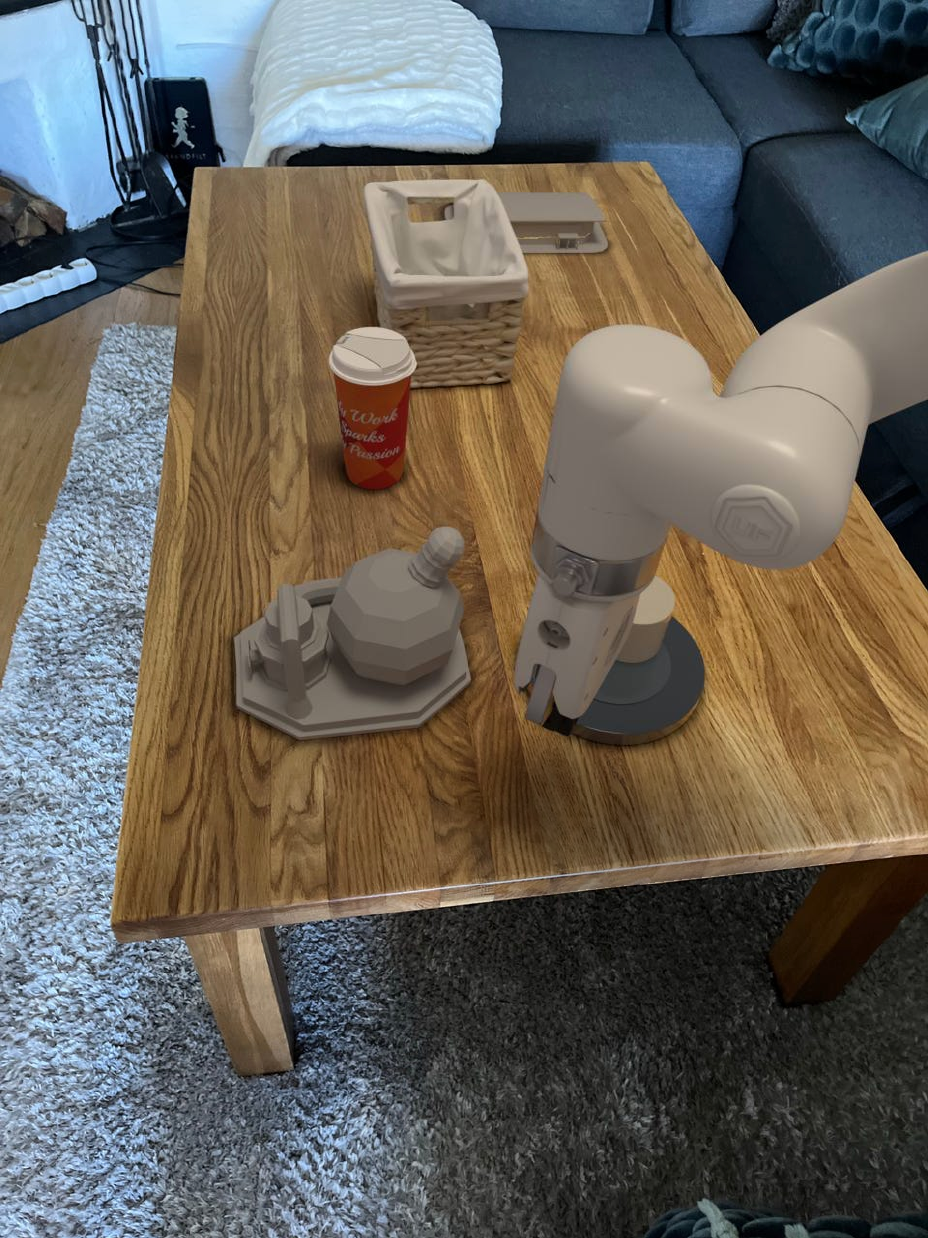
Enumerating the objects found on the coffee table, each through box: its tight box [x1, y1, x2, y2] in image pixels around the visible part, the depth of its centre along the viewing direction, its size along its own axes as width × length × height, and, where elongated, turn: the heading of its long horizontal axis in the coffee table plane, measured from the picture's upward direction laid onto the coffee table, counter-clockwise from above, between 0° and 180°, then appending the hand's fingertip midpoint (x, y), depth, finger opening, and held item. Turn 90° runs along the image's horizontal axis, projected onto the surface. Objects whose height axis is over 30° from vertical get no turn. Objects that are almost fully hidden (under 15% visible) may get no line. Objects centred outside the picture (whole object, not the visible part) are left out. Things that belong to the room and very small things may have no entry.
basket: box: [363, 178, 530, 389], centre depth 111 cm, size 24×16×15 cm
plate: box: [526, 615, 706, 746], centre depth 82 cm, size 16×16×2 cm
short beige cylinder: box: [616, 574, 676, 663], centre depth 82 cm, size 6×6×5 cm
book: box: [443, 191, 609, 254], centre depth 136 cm, size 15×23×4 cm, turn 97°
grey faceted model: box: [233, 526, 472, 741], centre depth 76 cm, size 20×15×15 cm
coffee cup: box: [328, 326, 417, 491], centre depth 94 cm, size 8×8×15 cm
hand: (553, 720), depth 68 cm, fingers closed
